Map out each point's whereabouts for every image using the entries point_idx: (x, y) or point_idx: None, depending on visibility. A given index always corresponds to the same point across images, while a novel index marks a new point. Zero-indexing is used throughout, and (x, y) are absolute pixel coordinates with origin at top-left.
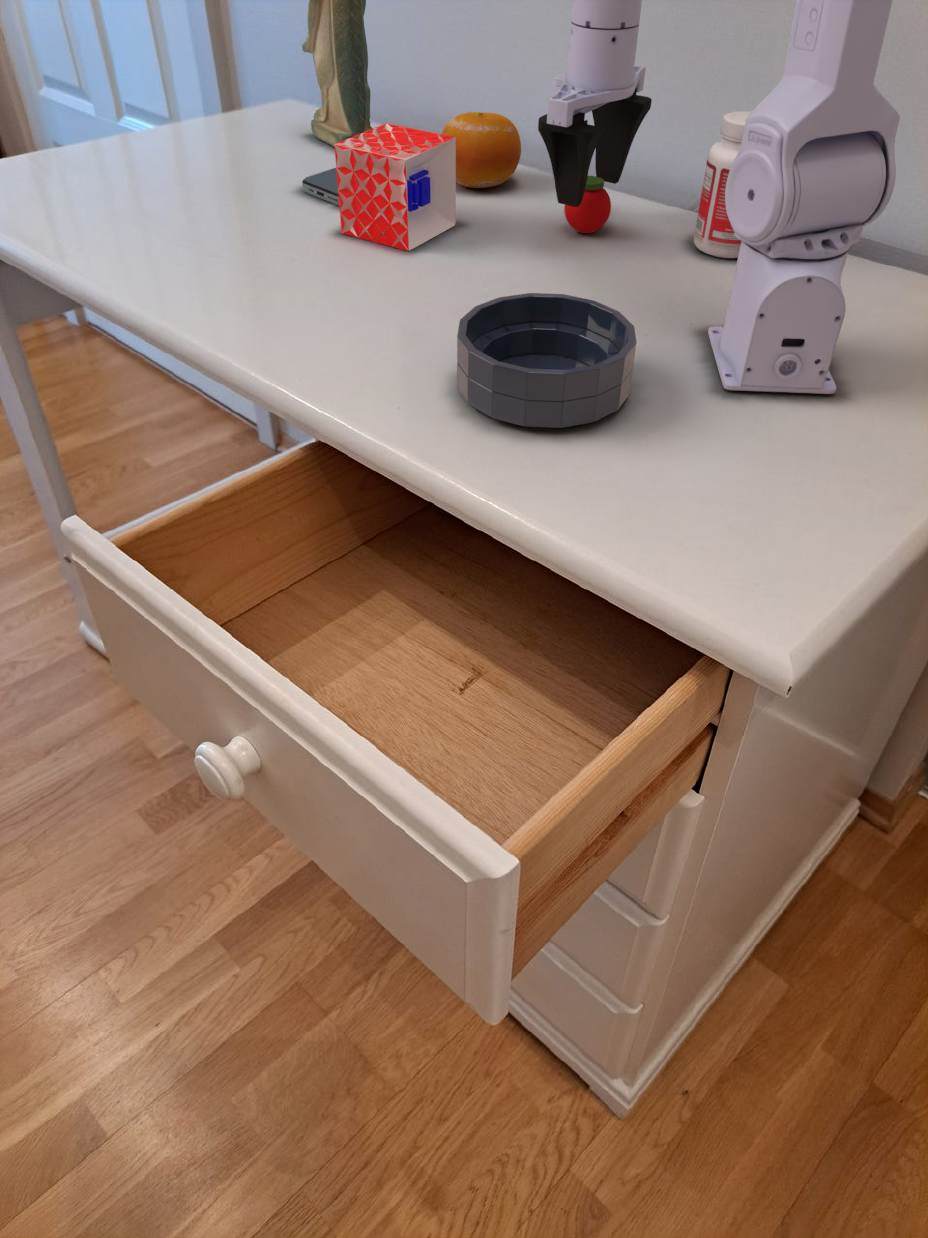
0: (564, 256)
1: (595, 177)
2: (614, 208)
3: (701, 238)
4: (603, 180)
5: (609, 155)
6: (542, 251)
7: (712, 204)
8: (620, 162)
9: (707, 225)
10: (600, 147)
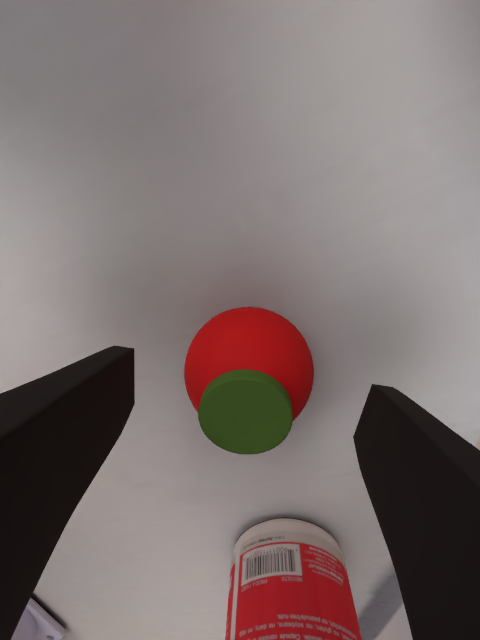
0: (98, 346)
1: (278, 425)
2: (431, 355)
3: (243, 550)
4: (261, 451)
5: (395, 477)
6: (92, 297)
7: (232, 636)
8: (374, 497)
9: (236, 584)
10: (424, 463)
